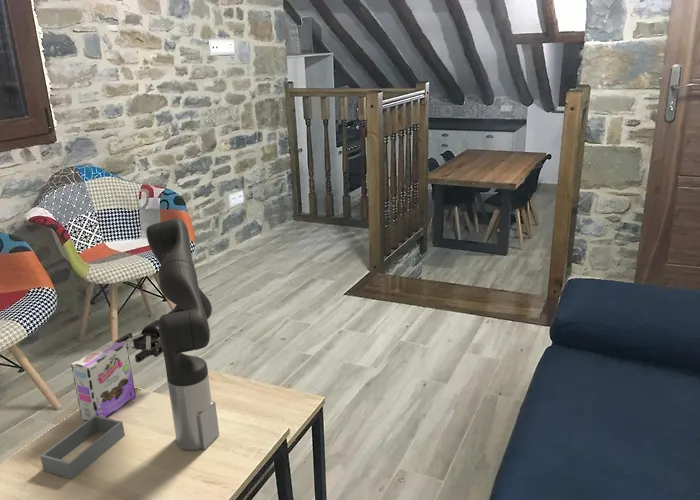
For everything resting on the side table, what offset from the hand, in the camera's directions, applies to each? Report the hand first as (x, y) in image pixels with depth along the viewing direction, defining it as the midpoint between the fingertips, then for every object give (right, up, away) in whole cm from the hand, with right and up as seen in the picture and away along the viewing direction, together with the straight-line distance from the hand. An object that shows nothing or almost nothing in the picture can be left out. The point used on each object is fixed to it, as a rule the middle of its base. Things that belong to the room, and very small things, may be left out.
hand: (123, 356), depth 161 cm
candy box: (-2, -13, -3) cm, 14 cm away
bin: (-1, -19, -21) cm, 28 cm away
